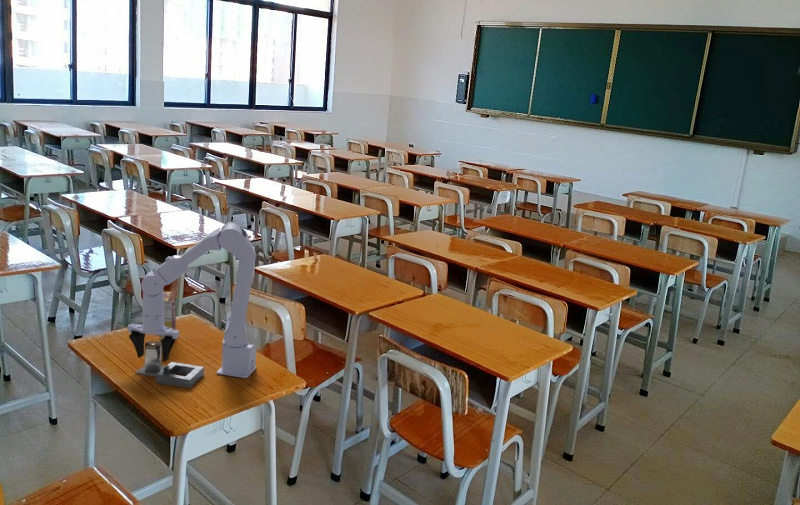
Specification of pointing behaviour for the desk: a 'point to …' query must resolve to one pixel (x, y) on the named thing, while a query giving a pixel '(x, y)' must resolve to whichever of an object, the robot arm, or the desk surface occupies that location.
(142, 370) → the mat
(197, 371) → the housing
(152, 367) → the metal cylinder
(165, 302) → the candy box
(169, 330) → the robot arm
